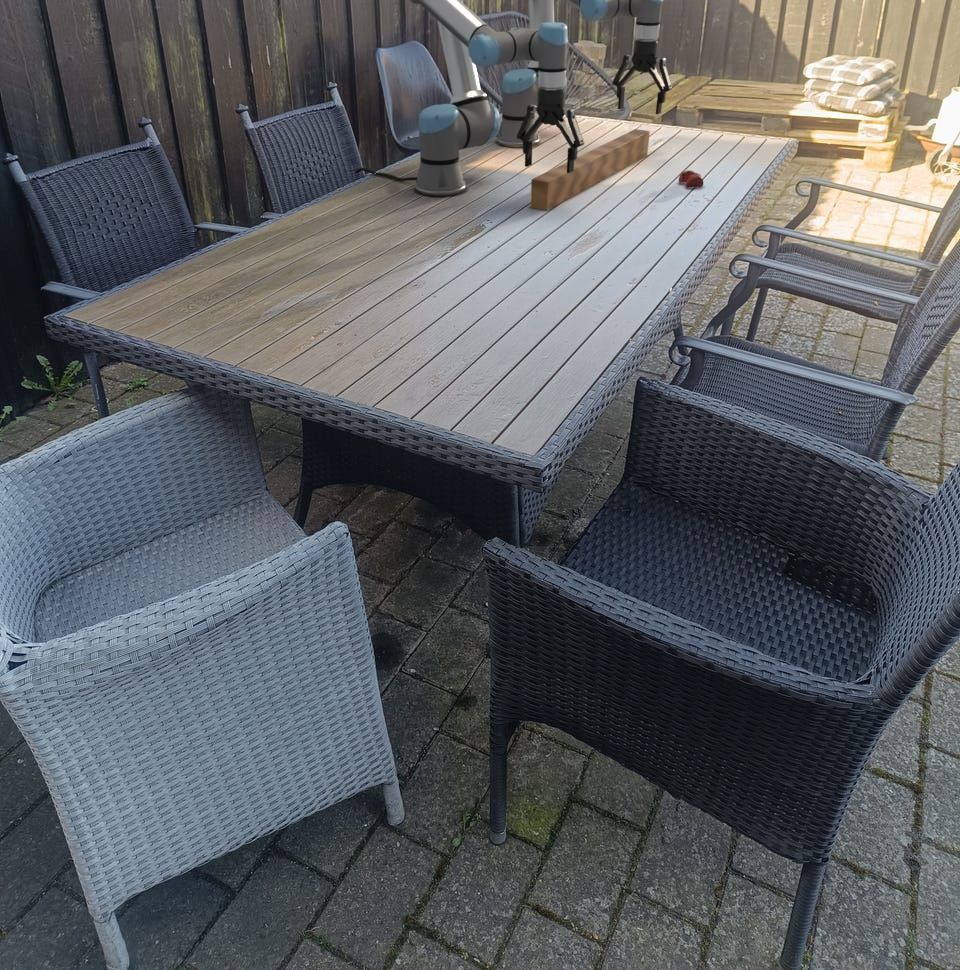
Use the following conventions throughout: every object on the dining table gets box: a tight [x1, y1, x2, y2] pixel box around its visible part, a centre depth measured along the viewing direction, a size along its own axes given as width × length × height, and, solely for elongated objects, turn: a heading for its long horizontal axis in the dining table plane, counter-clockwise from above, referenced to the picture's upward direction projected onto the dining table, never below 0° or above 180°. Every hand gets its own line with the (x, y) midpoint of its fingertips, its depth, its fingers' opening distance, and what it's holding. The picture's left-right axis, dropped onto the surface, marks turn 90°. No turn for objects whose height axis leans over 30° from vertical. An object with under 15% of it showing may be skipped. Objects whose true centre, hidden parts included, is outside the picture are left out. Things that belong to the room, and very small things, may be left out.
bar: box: [530, 128, 651, 211], centre depth 265 cm, size 71×5×8 cm, turn 147°
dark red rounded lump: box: [678, 169, 704, 189], centre depth 261 cm, size 6×4×8 cm
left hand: (549, 168), depth 240 cm, fingers open, 13 cm apart
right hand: (639, 111), depth 280 cm, fingers open, 13 cm apart
